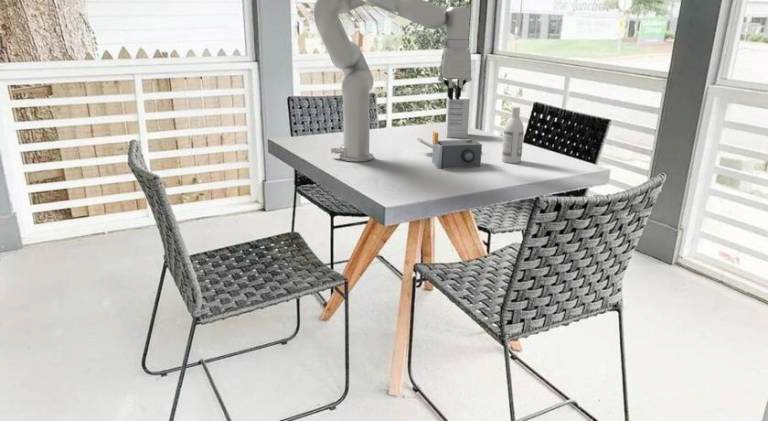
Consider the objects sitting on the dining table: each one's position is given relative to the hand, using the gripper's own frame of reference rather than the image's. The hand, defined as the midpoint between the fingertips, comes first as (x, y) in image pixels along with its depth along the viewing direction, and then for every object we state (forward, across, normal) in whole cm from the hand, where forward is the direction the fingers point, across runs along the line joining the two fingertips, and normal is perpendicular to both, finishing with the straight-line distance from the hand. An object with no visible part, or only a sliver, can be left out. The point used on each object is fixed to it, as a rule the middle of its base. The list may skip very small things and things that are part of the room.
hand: (453, 98), depth 208 cm
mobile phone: (+24, +4, +15) cm, 28 cm away
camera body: (+23, +2, -3) cm, 23 cm away
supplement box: (+23, +16, +46) cm, 54 cm away
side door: (+23, -6, -3) cm, 24 cm away
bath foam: (+23, +23, -1) cm, 33 cm away
